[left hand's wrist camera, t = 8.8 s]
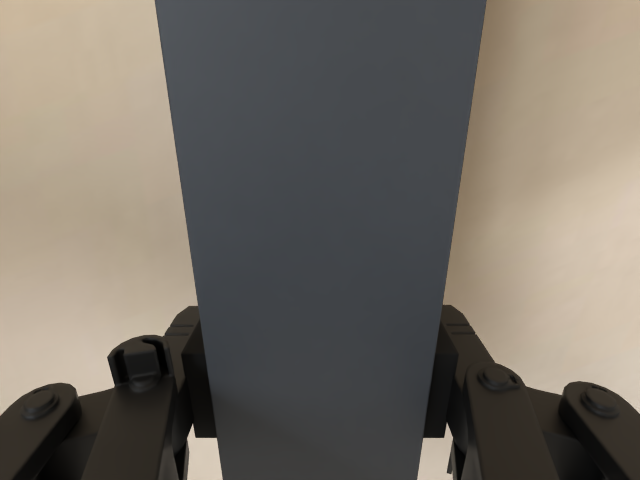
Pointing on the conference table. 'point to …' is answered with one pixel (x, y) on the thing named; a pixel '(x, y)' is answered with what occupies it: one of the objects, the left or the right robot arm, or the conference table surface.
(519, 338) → the conference table surface
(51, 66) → the conference table surface
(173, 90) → the beam
